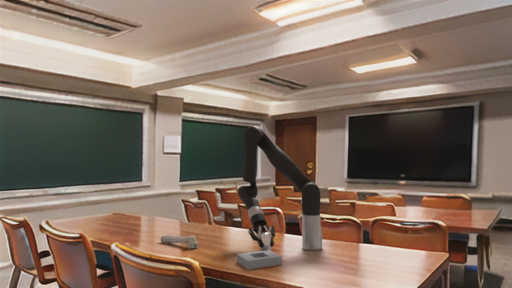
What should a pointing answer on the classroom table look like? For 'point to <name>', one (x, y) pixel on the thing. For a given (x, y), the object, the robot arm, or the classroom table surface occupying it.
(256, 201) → the robot arm
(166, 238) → the grey elongated piece
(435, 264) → the classroom table surface
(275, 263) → the jig plate
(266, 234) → the steel bushing
